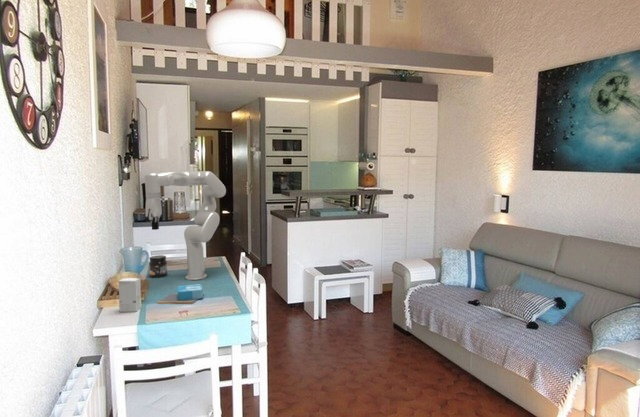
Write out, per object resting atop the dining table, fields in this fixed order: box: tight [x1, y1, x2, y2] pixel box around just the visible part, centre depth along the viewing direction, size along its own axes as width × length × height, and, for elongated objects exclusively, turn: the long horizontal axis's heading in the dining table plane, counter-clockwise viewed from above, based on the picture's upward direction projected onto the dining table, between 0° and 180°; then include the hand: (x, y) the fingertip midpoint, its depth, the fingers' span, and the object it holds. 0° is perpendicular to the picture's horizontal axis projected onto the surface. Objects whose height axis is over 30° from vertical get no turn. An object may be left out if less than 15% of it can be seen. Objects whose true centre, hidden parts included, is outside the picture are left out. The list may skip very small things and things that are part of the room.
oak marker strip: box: [156, 300, 194, 305], centre depth 220 cm, size 1×18×1 cm, turn 83°
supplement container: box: [148, 254, 169, 279], centre depth 278 cm, size 10×10×12 cm
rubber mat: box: [159, 293, 205, 304], centre depth 227 cm, size 14×18×1 cm
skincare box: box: [118, 277, 142, 313], centre depth 211 cm, size 8×6×15 cm
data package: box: [177, 283, 204, 301], centre depth 229 cm, size 12×4×12 cm
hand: (155, 229), depth 246 cm, fingers closed
